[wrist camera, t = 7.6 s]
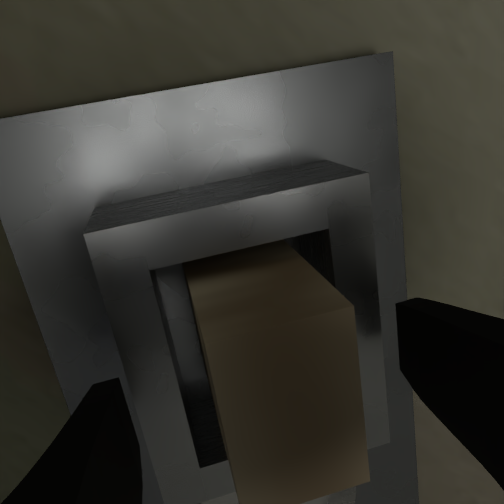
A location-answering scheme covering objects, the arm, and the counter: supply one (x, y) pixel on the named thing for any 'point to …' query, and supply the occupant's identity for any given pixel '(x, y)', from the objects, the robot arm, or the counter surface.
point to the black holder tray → (211, 248)
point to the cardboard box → (280, 373)
